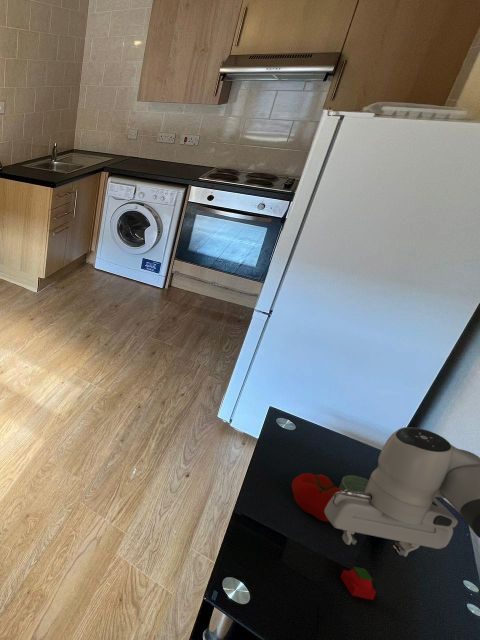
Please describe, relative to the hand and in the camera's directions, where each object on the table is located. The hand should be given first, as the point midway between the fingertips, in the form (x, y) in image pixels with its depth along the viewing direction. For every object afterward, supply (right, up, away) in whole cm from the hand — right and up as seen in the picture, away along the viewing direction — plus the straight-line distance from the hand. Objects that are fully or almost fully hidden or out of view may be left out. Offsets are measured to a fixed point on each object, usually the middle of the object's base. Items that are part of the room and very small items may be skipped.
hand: (373, 547), depth 88 cm
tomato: (+7, -6, +23) cm, 25 cm away
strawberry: (0, -12, +4) cm, 13 cm away
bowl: (+22, -6, +25) cm, 34 cm away
